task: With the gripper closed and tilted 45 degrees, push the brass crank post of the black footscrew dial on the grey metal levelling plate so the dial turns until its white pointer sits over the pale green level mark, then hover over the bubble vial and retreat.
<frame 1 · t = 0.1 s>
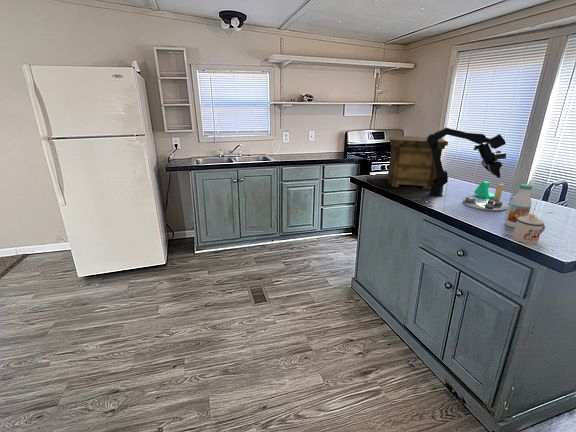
hand: (496, 176, 180), 15 cm above the countertop, tool tilted 35°, fingers open, 9 cm apart
footscrew dial: (496, 196, 167), point 7 cm above the countertop, hinge at 0.0°
teacup with lid: (527, 240, 128), on the countertop
crate: (409, 184, 224), on the countertop
milk bottle: (514, 226, 144), on the countertop
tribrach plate: (483, 205, 175), on the countertop
camera mount: (485, 198, 191), on the countertop
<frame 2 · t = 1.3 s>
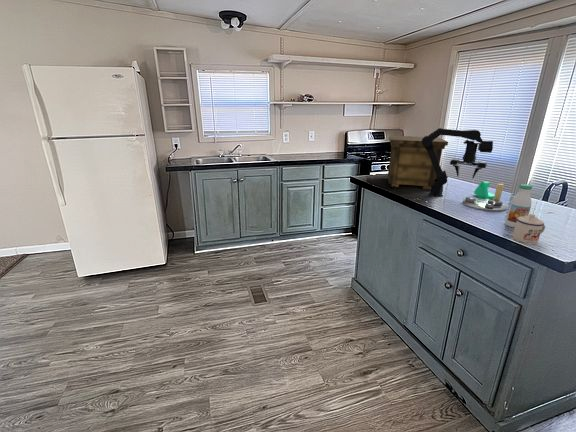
hand: (465, 177, 185), 13 cm above the countertop, tool pointing down, fingers open, 8 cm apart
nothing on the countertop moved.
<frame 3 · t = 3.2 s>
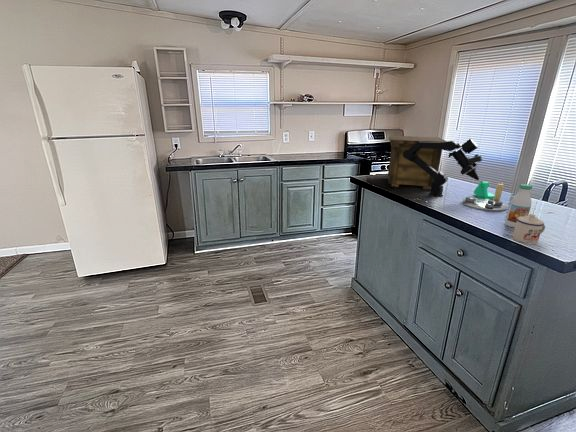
hand: (478, 179, 177), 13 cm above the countertop, tool tilted 45°, fingers closed
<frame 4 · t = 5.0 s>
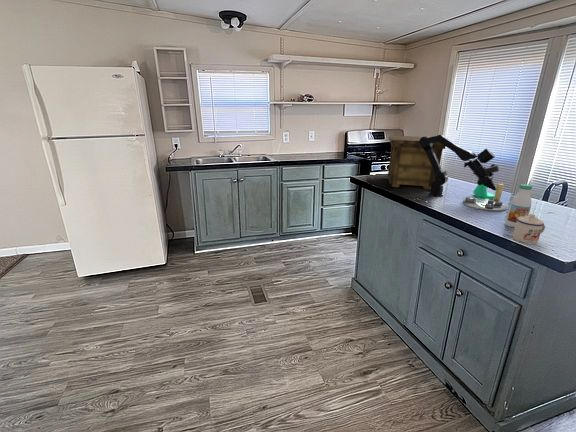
hand: (495, 190, 173), 9 cm above the countertop, tool tilted 45°, fingers closed, pressing on footscrew dial
footscrew dial: (496, 196, 167), point 7 cm above the countertop, hinge at -0.1°, touching gripper
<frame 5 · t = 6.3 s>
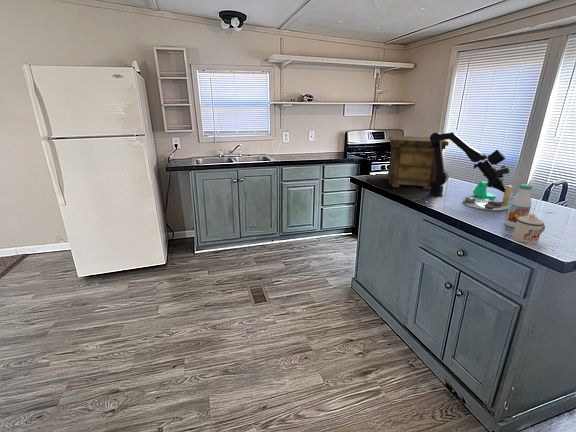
hand: (505, 192, 170), 8 cm above the countertop, tool tilted 45°, fingers closed
footscrew dial: (497, 196, 167), point 7 cm above the countertop, hinge at -37.5°, touching gripper
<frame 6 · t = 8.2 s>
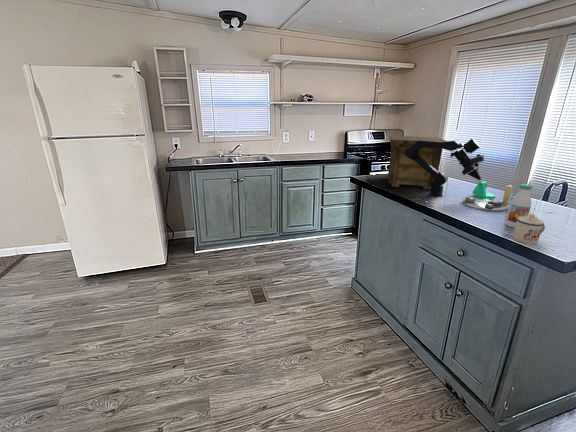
hand: (480, 179, 176), 14 cm above the countertop, tool tilted 45°, fingers closed
footscrew dial: (497, 196, 167), point 7 cm above the countertop, hinge at -37.5°
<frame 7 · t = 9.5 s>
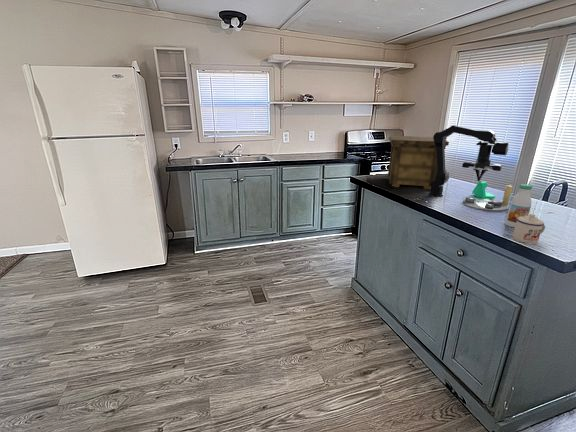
hand: (478, 180, 175), 13 cm above the countertop, tool pointing down, fingers closed
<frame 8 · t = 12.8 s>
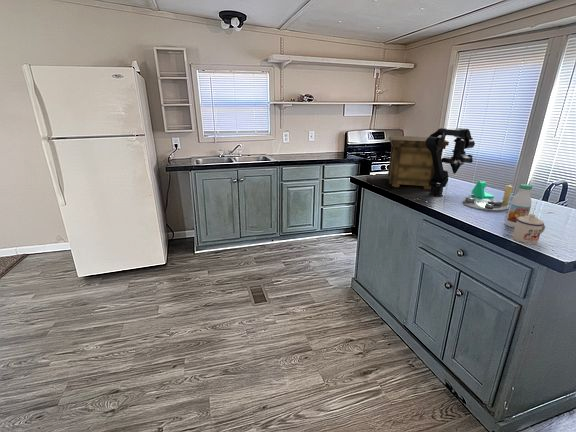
hand: (454, 173, 196), 13 cm above the countertop, tool pointing down, fingers closed
at the end: footscrew dial at -38° (first picture: +0°); footscrew dial touching nothing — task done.
